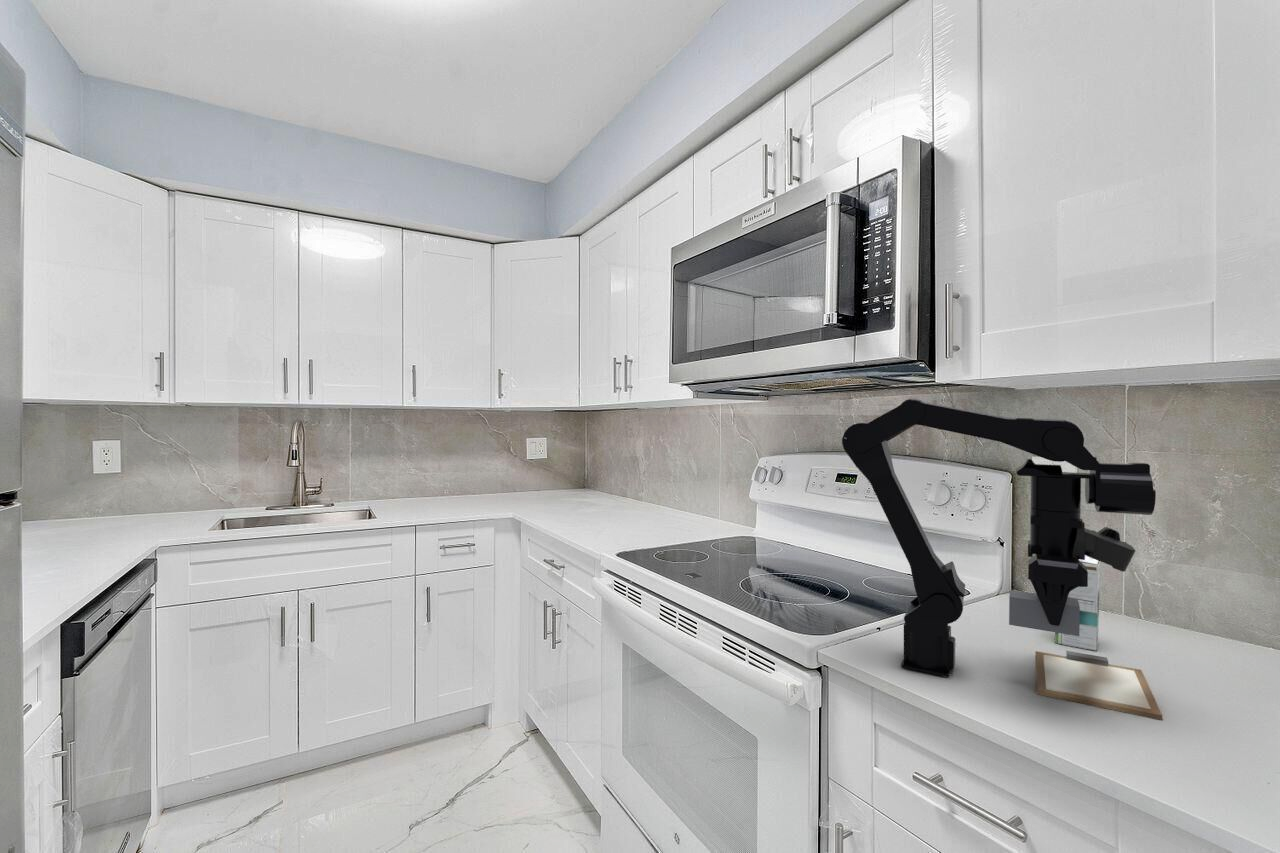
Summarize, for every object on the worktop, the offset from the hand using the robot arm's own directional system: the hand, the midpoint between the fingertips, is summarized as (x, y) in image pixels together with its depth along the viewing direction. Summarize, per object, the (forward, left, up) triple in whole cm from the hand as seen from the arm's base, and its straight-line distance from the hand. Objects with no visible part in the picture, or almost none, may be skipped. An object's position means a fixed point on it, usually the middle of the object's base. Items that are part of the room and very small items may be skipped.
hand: (1053, 620), depth 82 cm
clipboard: (+5, +5, -10) cm, 12 cm away
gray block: (0, 0, -1) cm, 1 cm away
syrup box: (+4, +23, -10) cm, 25 cm away
